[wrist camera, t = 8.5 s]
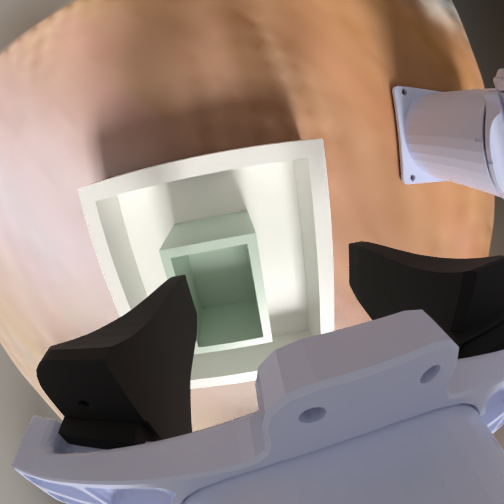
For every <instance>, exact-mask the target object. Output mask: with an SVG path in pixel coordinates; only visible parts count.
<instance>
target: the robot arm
mask: <svg viewBox="0 0 504 504" xmlns="http://www.w3.org/2000/svg"><path fill="white" fill-rule="evenodd" d="M493 81H494V84H495V87H496V88H492V89H472V90H459V91H448V92H440V91H434V90H427V89H421V88H413V87H405V86H395V87H393V89H392V94H393V100H394V107H395V114H396V122H397V130H398V140H399V151H400V166H401V180H402V182H403V183H405V184H417V183H427V182H439V181H451V182H454V183H458V184H461V185H465V186H468V187H471V188H474V189H478V190H481V191H484V192H487V193H490V194H493V195H496V196H499V197H502V198H503V199H504V68H502V69H499V70H498V72H497V74H496V77H495V78H494V79H493ZM402 90H403V91H404V95H403V94H402ZM411 175H412V180H411ZM349 284H350V286H351V288H352V290H353V292H354V294H355V296H356V298H357V300H358V301H359V303H360V304H361V305H362V307H363V308H364V309H365V311H366V312H367V313H368V315H369V316H370V317H371V319H372V321H369V322H365V323H362V324H358V325H355V326H351V327H347V328H343V329H340V330H336V331H332V332H328V333H324V334H320V335H315V336H311V337H307V338H302V339H299V340H297V341H295V342H292V343H290V344H288V345H285V346H283V347H280V348H278V349H275V350H274V351H273V352H272V353H271V354H270V355H269V356H268V357H267V358H266V359H265V360H264V361H263V363H262V364H261V365H260V366H259V367H258V371H257V377H256V383H255V386H256V393H257V400H258V407H259V409H258V411H257V412H254V413H251V414H249V415H246V416H243V417H240V418H237V419H234V420H231V421H228V422H225V423H222V424H219V425H216V426H213V427H209V428H206V429H203V430H199V431H196V432H192V425H191V402H190V380H191V370H192V363H193V357H194V350H195V343H196V337H197V312H196V309H195V306H194V302H193V299H192V296H191V293H190V289H189V286H188V282H187V279H186V275H179V276H173V277H171V278H169V279H168V280H166V281H165V282H164V283H163V284H162V285H160V286H159V287H158V288H157V289H156V290H155V291H154V292H152V293H151V294H150V295H149V296H148V297H147V298H145V299H144V300H143V301H142V302H140V303H139V304H138V305H137V306H136V307H134V308H133V309H132V310H130V311H129V312H127V313H126V314H124V315H123V316H121V317H120V318H118V319H117V320H115V321H113V322H111V323H109V324H108V325H106V326H104V327H102V328H100V329H98V330H96V331H94V332H92V333H89V334H87V335H85V336H82V337H79V338H77V339H74V340H71V341H67V342H64V343H61V344H57V345H54V346H51V347H50V348H49V349H48V351H47V352H46V354H45V355H44V357H43V358H42V360H41V361H40V363H39V365H38V367H37V378H38V380H39V383H40V385H41V387H42V389H43V390H44V392H45V393H46V394H47V396H48V397H49V398H50V399H51V401H52V402H53V403H54V404H55V406H56V407H57V408H58V409H59V410H60V412H61V413H62V414H63V415H64V416H65V417H64V420H63V422H62V424H61V423H60V422H58V421H57V420H54V419H50V418H45V417H40V416H33V417H32V419H31V421H30V423H29V426H28V428H27V430H26V432H25V435H24V437H23V439H22V441H21V444H20V446H19V449H18V451H17V454H16V456H15V459H14V461H13V464H12V467H13V469H15V470H16V471H17V472H18V473H20V474H21V475H22V476H24V477H25V478H26V479H28V480H29V481H30V482H32V483H33V484H35V485H36V486H37V487H39V488H40V489H42V490H43V491H44V492H46V493H47V494H49V495H51V496H52V497H53V498H55V499H57V500H58V501H61V502H64V503H67V504H504V451H503V449H502V448H501V446H500V445H499V443H498V441H497V440H496V438H495V437H494V436H493V433H494V432H495V431H496V430H497V429H499V428H500V427H501V426H502V425H503V424H504V256H493V257H485V258H472V259H452V258H438V257H430V256H424V255H418V254H413V253H409V252H405V251H401V250H397V249H393V248H389V247H386V246H382V245H378V244H374V243H370V242H362V241H361V242H356V243H350V244H349Z"/></svg>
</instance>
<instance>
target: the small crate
mask: <svg viewBox="0 0 504 504" xmlns="http://www.w3.org/2000/svg"><path fill="white" fill-rule="evenodd" d="M159 253H160V256H161V260H162V263H163V267H164V270H165V274H166V277H167V280H168V279H169V278H171V277H173V276H179V275H186V279H187V282H188V286H189V289H190V293H191V296H192V299H193V302H194V306H195V309H196V312H197V337H196V343H195V350H194V354H201V353H208V352H215V351H222V350H228V349H235V348H241V347H247V346H252V345H258V344H263V343H269V342H273V340H272V334H271V327H270V320H269V314H268V307H267V301H266V294H265V288H264V281H263V275H262V268H261V262H260V255H259V249H258V243H257V236H256V232H255V229H254V226H253V224H252V221H251V218H250V216H249V213H248V210H246V211H241V212H235V213H229V214H224V215H219V216H213V217H208V218H203V219H198V220H193V221H187V222H182V223H178V224H174V225H173V227H172V229H171V231H170V232H169V234H168V236H167V237H166V239H165V241H164V243H163V244H162V246H161V248H160V250H159Z"/></svg>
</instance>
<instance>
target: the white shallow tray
mask: <svg viewBox="0 0 504 504" xmlns="http://www.w3.org/2000/svg"><path fill="white" fill-rule="evenodd" d="M78 193H79V197H80V201H81V205H82V209H83V213H84V216H85V220H86V223H87V227H88V230H89V233H90V237H91V240H92V243H93V246H94V249H95V252H96V255H97V258H98V261H99V264H100V267H101V270H102V273H103V275H104V278H105V281H106V283H107V286H108V289H109V291H110V294H111V296H112V299H113V301H114V304H115V306H116V308H117V311H118V313H119V316H120V317H121V316H123V315H124V314H126V313H127V312H129V311H130V310H132V309H133V308H134V307H136V306H137V305H138V304H139V303H140V302H142V301H143V300H144V299H145V298H147V297H148V296H149V295H150V294H151V293H152V292H154V291H155V290H156V289H157V288H158V287H159V286H160V285H162V284H163V283H164V282H165V281H166V280H167V277H166V274H165V270H164V267H163V263H162V260H161V256H160V253H159V250H160V248H161V246H162V244H163V243H164V241H165V239H166V237H167V236H168V234H169V232H170V231H171V229H172V227H173V225H174V224H178V223H182V222H187V221H193V220H198V219H203V218H208V217H213V216H219V215H224V214H229V213H235V212H241V211H246V210H248V213H249V216H250V218H251V221H252V224H253V226H254V229H255V232H256V236H257V243H258V249H259V255H260V262H261V268H262V275H263V281H264V288H265V294H266V301H267V307H268V314H269V320H270V327H271V334H272V340H273V342H269V343H263V344H258V345H252V346H247V347H241V348H235V349H228V350H222V351H215V352H208V353H201V354H194V357H193V363H192V370H191V380H190V389H194V388H203V387H212V386H220V385H227V384H234V383H241V382H247V381H253V380H256V377H257V371H258V367H259V366H260V365H261V364H262V363H263V361H264V360H265V359H266V358H267V357H268V356H269V355H270V354H271V353H272V352H273V351H274V350H275V349H278V348H280V347H283V346H285V345H288V344H290V343H292V342H295V341H297V340H299V339H302V338H307V337H311V336H315V335H320V334H324V333H328V332H332V331H334V270H333V246H332V228H331V213H330V201H329V189H328V179H327V169H326V160H325V152H324V144H323V139H306V140H294V141H285V142H277V143H270V144H262V145H255V146H249V147H242V148H236V149H230V150H225V151H219V152H214V153H208V154H203V155H198V156H194V157H189V158H184V159H180V160H175V161H171V162H167V163H162V164H158V165H154V166H150V167H146V168H143V169H139V170H135V171H131V172H128V173H124V174H121V175H117V176H114V177H111V178H107V179H104V180H101V181H98V182H96V183H93V184H90V185H87V186H84V187H82V188H79V189H78Z"/></svg>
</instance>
